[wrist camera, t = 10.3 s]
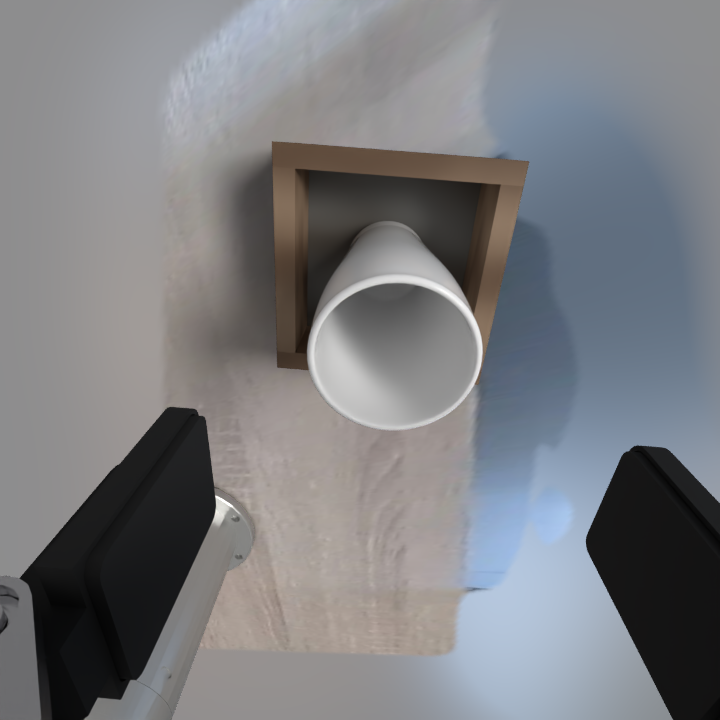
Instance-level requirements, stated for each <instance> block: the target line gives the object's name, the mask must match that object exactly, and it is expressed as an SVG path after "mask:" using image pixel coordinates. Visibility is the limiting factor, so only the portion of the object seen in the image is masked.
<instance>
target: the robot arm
mask: <svg viewBox="0 0 720 720" xmlns="http://www.w3.org/2000/svg"><path fill="white" fill-rule="evenodd" d="M254 538H255V532H254V526H253V523H252V520H251V518H250V516H249V515H248V513H247V511H246V510H245V509H244V508H243V507H242V506H241V505H240V503H238V502H237V501H236V500H235V499H233V498H232V497H231V496H230V495H228V494H226V493H225V492H223V491H221V490H219V489H217V488H215V487H214V482H213V474H212V466H211V458H210V450H209V442H208V434H207V426H206V420H205V417H203V416H199V415H198V412H197V410H195V409H189V408H177V407H169V408H167V409H166V410H165V411H164V412H163V413H162V414H161V416H160V417H159V418H158V419H157V420H156V422H155V423H154V424H153V425H152V426H151V428H150V429H149V430H148V431H147V432H146V434H145V435H144V436H143V437H142V438H141V439H140V441H139V442H138V443H137V444H136V446H135V447H134V448H133V449H132V450H131V451H130V453H129V454H128V455H127V456H126V457H125V458H124V460H123V461H122V462H121V463H120V464H119V465H117V466H116V467H115V468H113V469H112V470H111V471H110V473H109V474H108V475H107V476H106V477H105V479H104V480H103V481H102V482H101V483H100V484H99V486H98V487H97V488H96V489H95V490H94V491H93V492H92V494H91V495H90V496H89V497H88V499H87V500H86V501H85V502H84V503H83V504H82V506H81V507H80V508H79V509H78V510H77V512H76V513H75V514H74V515H73V516H72V517H71V518H70V520H69V521H68V522H67V523H66V524H65V525H64V527H63V528H62V529H61V530H60V531H59V533H58V534H57V535H56V536H55V537H54V538H53V540H52V541H51V542H50V543H49V544H48V545H47V547H46V548H45V549H44V550H43V551H42V553H41V554H40V555H39V556H38V557H37V558H36V560H35V561H34V562H33V563H32V564H31V565H30V567H29V568H28V569H27V570H26V571H25V572H24V574H23V575H22V576H21V577H20V578H14V577H10V576H0V720H172V717H173V714H174V711H175V709H176V706H177V704H178V701H179V698H180V696H181V693H182V690H183V688H184V685H185V682H186V680H187V677H188V674H189V671H190V669H191V666H192V663H193V661H194V658H195V655H196V653H197V650H198V647H199V645H200V642H201V639H202V637H203V634H204V631H205V629H206V626H207V623H208V621H209V618H210V615H211V612H212V610H213V607H214V604H215V602H216V599H217V596H218V594H219V591H220V588H221V586H222V583H223V580H224V578H225V575H226V572H227V571H229V570H232V569H233V568H235V567H237V566H239V565H240V564H241V563H243V562H244V561H245V560H246V558H247V557H248V555H249V554H250V551H251V549H252V546H253V542H254ZM586 547H587V550H588V553H589V555H590V557H591V559H592V561H593V563H594V565H595V567H596V569H597V571H598V573H599V575H600V577H601V579H602V581H603V583H604V585H605V587H606V589H607V591H608V593H609V595H610V597H611V599H612V600H613V602H614V605H615V606H616V608H617V610H618V612H619V614H620V616H621V618H622V620H623V622H624V624H625V626H626V628H627V630H628V632H629V634H630V636H631V638H632V640H633V642H634V644H635V646H636V648H637V649H638V652H639V654H640V656H641V658H642V660H643V661H644V664H645V666H646V668H647V669H648V671H649V673H650V675H651V677H652V679H653V681H654V683H655V685H656V687H657V689H658V691H659V693H660V695H661V697H662V699H663V701H664V703H665V705H666V707H667V709H668V711H669V713H670V715H671V717H672V718H673V720H720V503H719V502H718V501H717V500H716V499H715V498H714V497H713V496H712V495H711V494H710V493H709V492H708V491H707V490H706V488H704V486H702V485H701V483H700V482H699V481H698V480H697V479H696V478H695V477H694V476H693V475H692V474H691V473H690V472H689V471H688V470H687V469H686V468H685V467H684V465H683V464H682V463H681V462H680V461H679V460H678V459H677V458H676V457H675V456H674V455H673V454H672V453H671V452H670V451H669V450H668V449H666V448H661V447H649V446H634V447H633V448H631V449H630V451H628V452H625V453H624V454H623V455H622V457H621V459H620V461H619V464H618V466H617V468H616V470H615V473H614V475H613V477H612V479H611V482H610V484H609V486H608V488H607V491H606V493H605V496H604V498H603V500H602V502H601V504H600V507H599V509H598V511H597V514H596V516H595V518H594V520H593V523H592V525H591V527H590V529H589V532H588V534H587V537H586Z"/></svg>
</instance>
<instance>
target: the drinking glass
mask: <svg viewBox="0 0 720 720" xmlns="http://www.w3.org/2000/svg"><path fill="white" fill-rule="evenodd" d="M482 355H483V345H482V338H481V334H480V330H479V327H478V324H477V322H476V320H475V317H474V315H473V312H472V310H471V307H470V305H469V303H468V301H467V299H466V297H465V295H464V293H463V291H462V289H461V287H460V286H459V284H458V283H457V281H456V280H455V278H454V277H453V275H452V274H451V273H450V271H449V270H448V269H447V268H446V267H445V266H444V264H443V263H442V262H441V261H440V260H439V259H438V258H437V257H436V256H435V255H434V254H433V253H432V252H431V251H430V250H429V249H428V248H427V247H426V246H425V245H424V244H423V242H422V240H421V239H420V237H419V236H418V235H417V234H416V233H415V232H414V231H413V230H412V229H411V228H409V227H408V226H406V225H404V224H402V223H399V222H395V221H380V222H376V223H373V224H371V225H369V226H367V227H365V228H364V229H363V230H361V231H360V232H359V233H358V234H357V236H356V237H355V238H354V240H353V241H352V243H351V245H350V248H349V251H348V252H347V254H346V255H345V257H344V258H343V260H342V261H341V262H340V264H339V265H338V267H337V268H336V270H335V271H334V272H333V274H332V276H331V277H330V279H329V281H328V282H327V284H326V286H325V288H324V290H323V292H322V295H321V297H320V299H319V302H318V305H317V308H316V311H315V314H314V318H313V322H312V326H311V331H310V335H309V339H308V345H307V362H308V368H309V372H310V376H311V378H312V381H313V383H314V385H315V387H316V389H317V391H318V392H319V394H320V395H321V397H322V398H323V399H324V400H325V401H326V403H327V404H328V405H329V406H330V407H331V408H333V409H334V410H335V411H336V412H338V413H339V414H340V415H342V416H343V417H345V418H347V419H348V420H350V421H352V422H354V423H357V424H360V425H362V426H366V427H369V428H373V429H379V430H391V431H394V430H408V429H413V428H417V427H421V426H424V425H427V424H430V423H432V422H434V421H437V420H438V419H440V418H442V417H444V416H445V415H447V414H448V413H450V412H451V411H452V410H454V409H455V408H456V407H457V406H458V405H459V404H460V403H461V402H462V401H463V400H464V399H465V398H466V396H467V395H468V394H469V392H470V391H471V389H472V388H473V386H474V384H475V382H476V380H477V377H478V375H479V372H480V368H481V363H482Z"/></svg>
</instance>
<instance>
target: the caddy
mask: <svg viewBox="0 0 720 720" xmlns="http://www.w3.org/2000/svg"><path fill="white" fill-rule="evenodd" d="M272 164H273V205H274V247H275V288H276V330H277V367H278V368H289V369H301V370H309V368H308V362H307V345H308V339H309V335H310V331H311V326H312V322H313V318H314V314H315V311H316V308H317V305H318V302H319V299H320V297H321V295H322V292H323V290H324V288H325V286H326V284H327V282H328V281H329V279H330V277H331V276H332V274H333V272H334V271H335V270H336V268H337V267H338V265H339V264H340V262H341V261H342V260H343V258H344V257H345V255H346V254H347V252H348V251H349V248H350V245H351V243H352V241H353V240H354V238H355V237H356V236H357V234H358V233H359V232H360V231H361V230H363V229H364V228H365V227H367V226H369V225H371V224H373V223H376V222H380V221H395V222H399V223H402V224H404V225H406V226H408V227H409V228H411V229H412V230H413V231H414V232H415V233H416V234H417V235H418V236H419V237H420V239H421V240H422V242H423V244H424V245H425V246H426V247H427V248H428V249H429V250H430V251H431V252H432V253H433V254H434V255H435V256H436V257H437V258H438V259H439V260H440V261H441V262H442V263H443V264H444V266H445V267H446V268H447V269H448V270H449V271H450V273H451V274H452V275H453V277H454V278H455V280H456V281H457V283H458V284H459V286H460V287H461V289H462V291H463V293H464V295H465V297H466V299H467V301H468V303H469V305H470V307H471V310H472V312H473V315H474V317H475V320H476V322H477V324H478V327H479V330H480V334H481V338H482V345H483V355H482V363H481V368H480V372H479V375H478V377H477V380H476V382H475V384H476V385H478V384H479V379H480V375H481V370H482V366H483V362H484V357H485V353H486V349H487V344H488V340H489V335H490V331H491V327H492V322H493V318H494V314H495V309H496V305H497V300H498V296H499V292H500V287H501V283H502V279H503V274H504V270H505V265H506V261H507V257H508V252H509V248H510V244H511V239H512V235H513V230H514V226H515V222H516V217H517V213H518V209H519V204H520V200H521V195H522V191H523V186H524V182H525V178H526V174H527V169H528V165H529V161H518V160H508V159H496V158H483V157H470V156H457V155H444V154H431V153H418V152H405V151H392V150H379V149H366V148H353V147H340V146H327V145H314V144H301V143H288V142H272Z"/></svg>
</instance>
